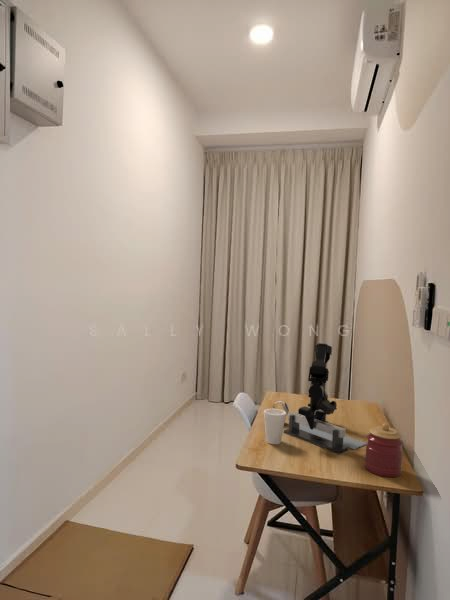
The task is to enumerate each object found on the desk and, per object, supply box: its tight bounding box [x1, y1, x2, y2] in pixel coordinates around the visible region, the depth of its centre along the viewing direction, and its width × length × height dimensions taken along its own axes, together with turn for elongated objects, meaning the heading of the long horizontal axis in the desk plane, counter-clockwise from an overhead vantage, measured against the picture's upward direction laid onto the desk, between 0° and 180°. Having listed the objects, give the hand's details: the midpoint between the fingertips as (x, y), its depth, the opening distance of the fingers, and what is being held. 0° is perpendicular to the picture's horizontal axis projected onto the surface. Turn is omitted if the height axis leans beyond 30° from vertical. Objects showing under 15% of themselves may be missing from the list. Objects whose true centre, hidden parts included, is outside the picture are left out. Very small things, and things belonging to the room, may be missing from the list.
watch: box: [272, 400, 290, 424], centre depth 199 cm, size 6×8×11 cm
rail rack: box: [283, 415, 349, 455], centre depth 178 cm, size 7×29×8 cm, turn 42°
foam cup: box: [263, 408, 287, 445], centre depth 175 cm, size 10×9×13 cm
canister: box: [364, 422, 404, 478], centre depth 151 cm, size 13×13×18 cm
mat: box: [299, 424, 367, 451], centre depth 185 cm, size 11×32×1 cm, turn 42°
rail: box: [287, 411, 347, 438], centre depth 178 cm, size 3×28×3 cm, turn 42°
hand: (315, 428), depth 178 cm, fingers open, 5 cm apart
